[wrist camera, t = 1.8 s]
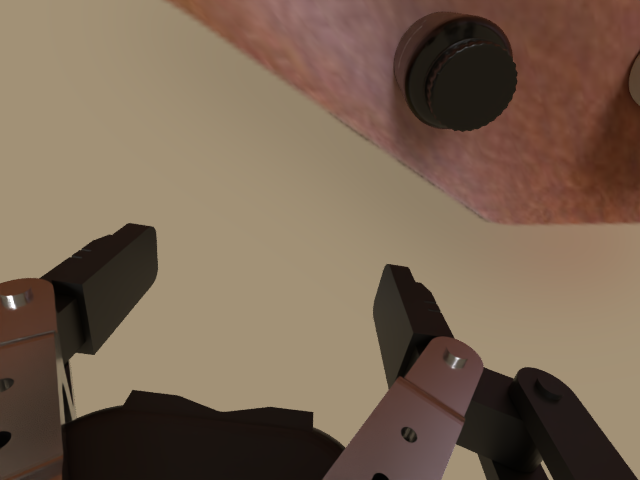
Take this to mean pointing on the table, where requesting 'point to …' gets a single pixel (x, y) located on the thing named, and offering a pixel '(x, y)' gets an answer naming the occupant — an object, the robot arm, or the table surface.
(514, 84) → the supplement bottle
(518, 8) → the table surface
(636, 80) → the coffee cup
